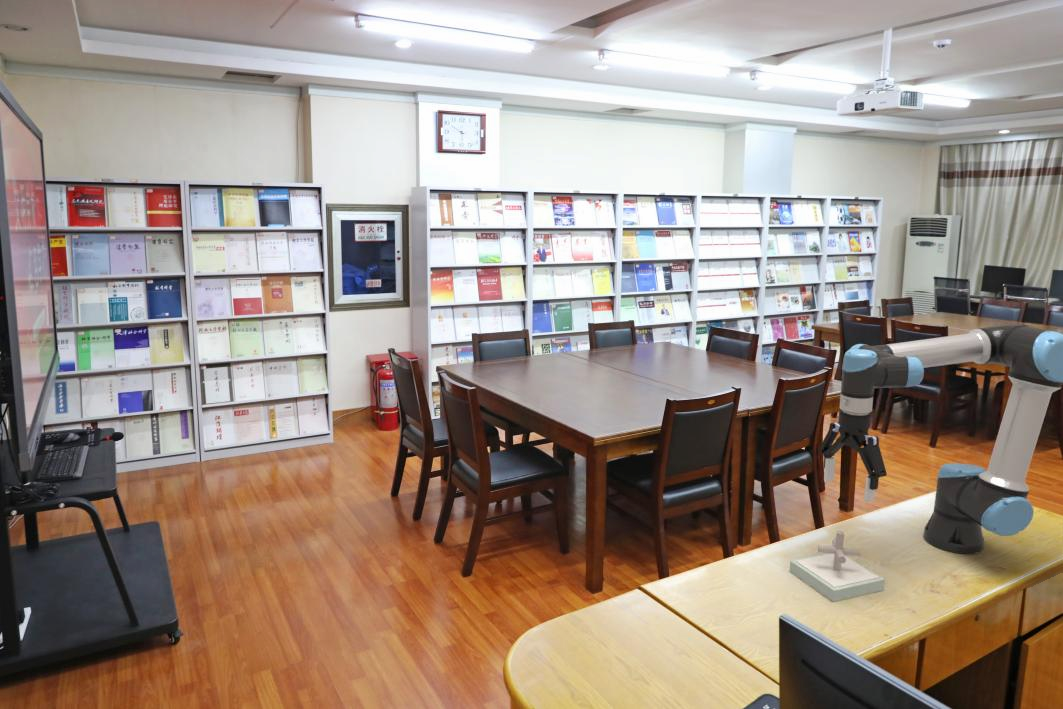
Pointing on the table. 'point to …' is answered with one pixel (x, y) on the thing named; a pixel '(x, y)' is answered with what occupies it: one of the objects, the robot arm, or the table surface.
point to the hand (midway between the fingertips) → (848, 490)
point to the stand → (836, 577)
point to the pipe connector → (838, 550)
